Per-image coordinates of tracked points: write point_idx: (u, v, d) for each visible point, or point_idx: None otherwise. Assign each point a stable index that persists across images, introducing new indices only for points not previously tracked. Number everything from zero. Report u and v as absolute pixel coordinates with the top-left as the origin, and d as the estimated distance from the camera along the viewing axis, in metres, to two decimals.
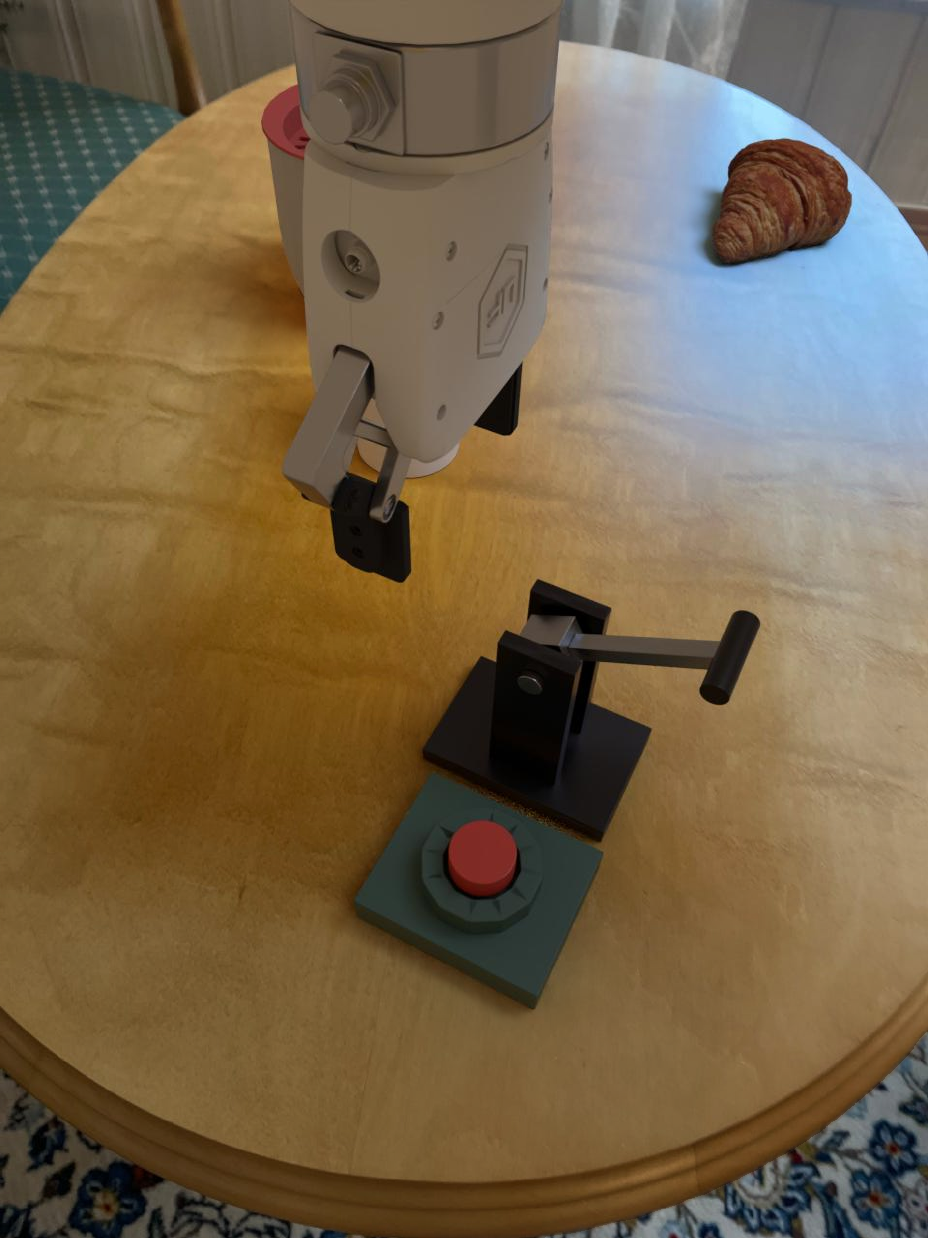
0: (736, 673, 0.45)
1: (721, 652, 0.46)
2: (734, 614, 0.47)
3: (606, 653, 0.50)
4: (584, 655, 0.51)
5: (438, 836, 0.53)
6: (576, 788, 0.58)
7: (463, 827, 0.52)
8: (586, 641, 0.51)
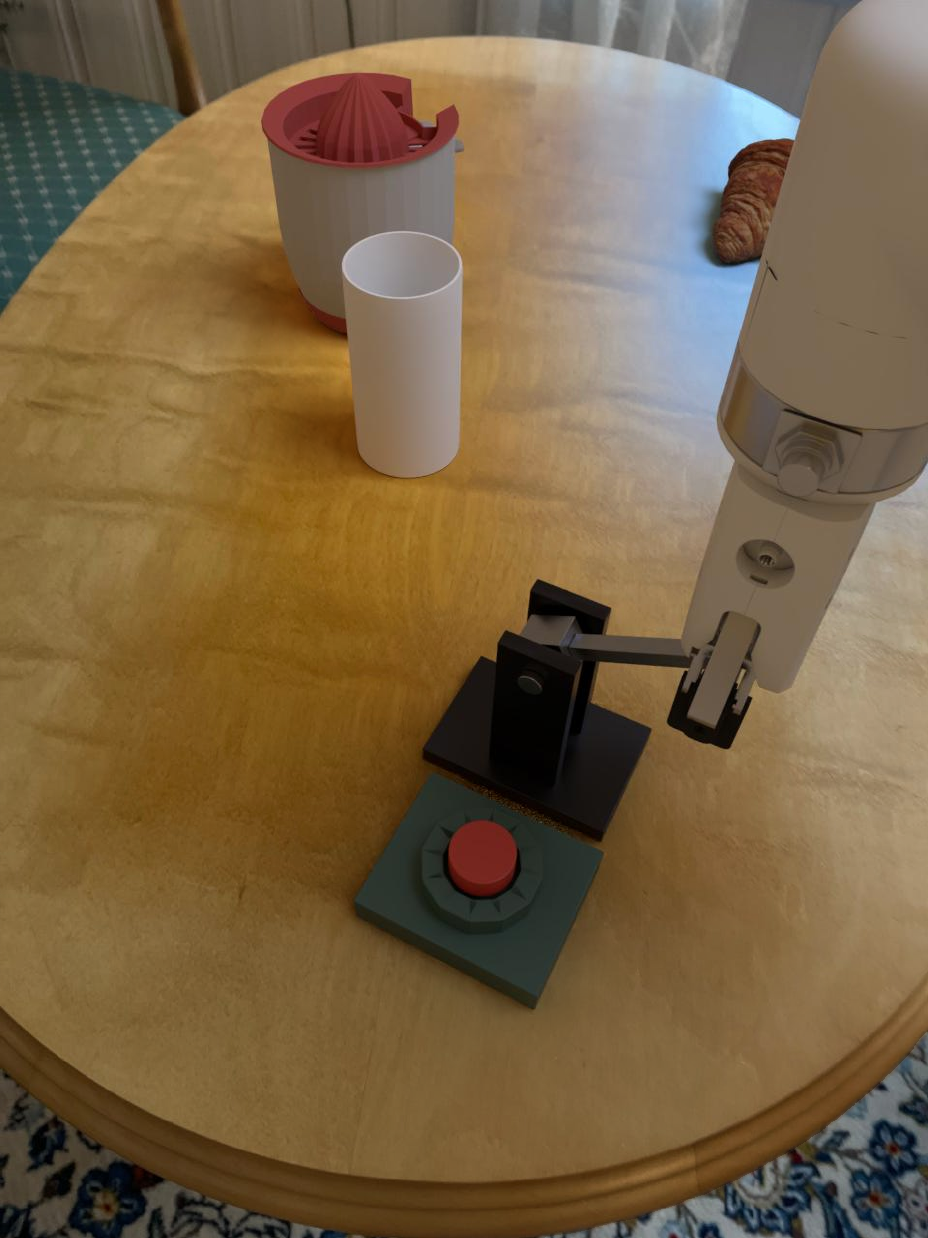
0: None
1: None
2: None
3: (606, 653, 0.50)
4: (584, 655, 0.51)
5: (438, 836, 0.53)
6: (576, 788, 0.58)
7: (463, 827, 0.52)
8: (586, 641, 0.51)
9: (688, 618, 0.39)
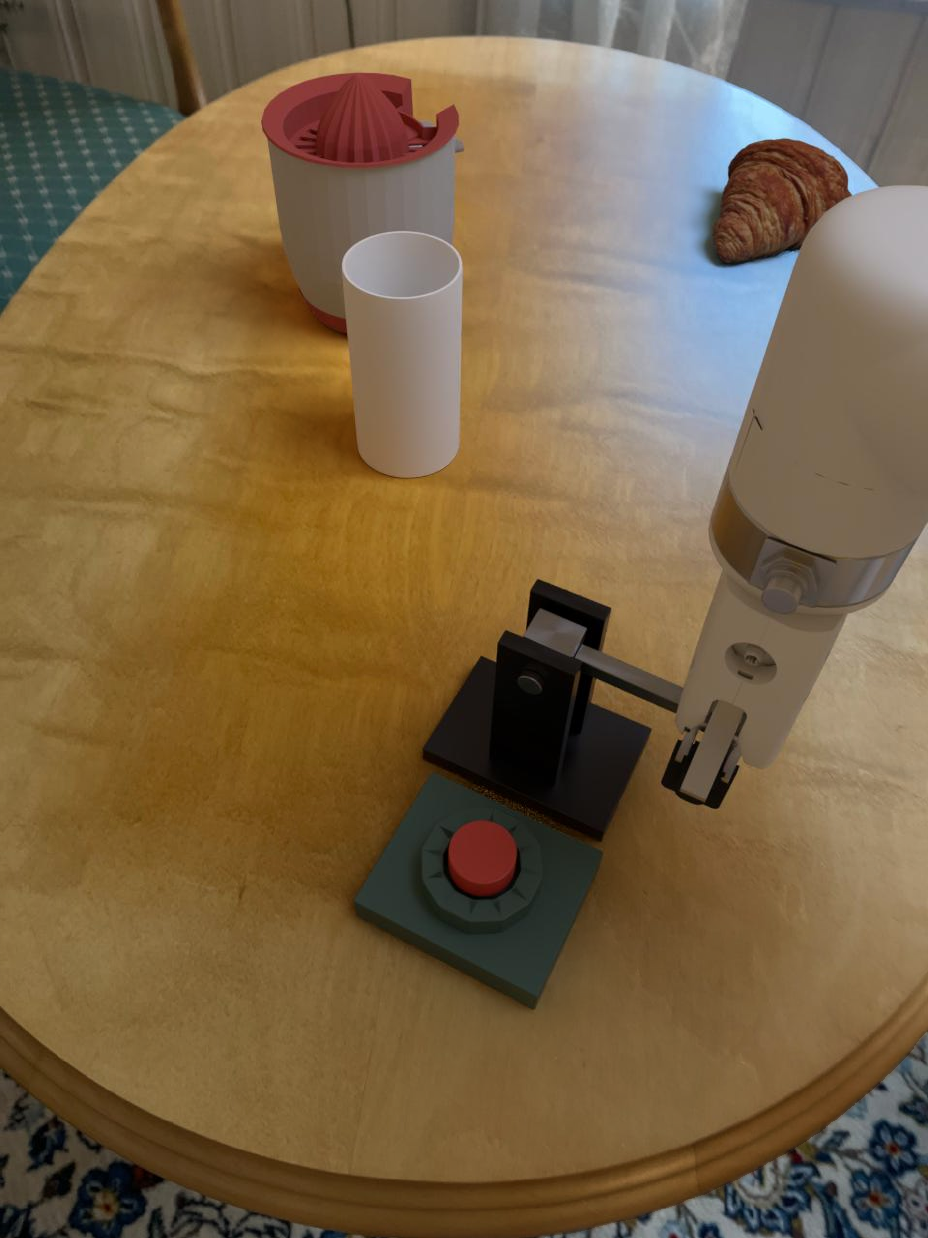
0: None
1: None
2: None
3: (611, 677, 0.51)
4: (586, 669, 0.52)
5: (438, 836, 0.53)
6: (576, 788, 0.58)
7: (463, 827, 0.52)
8: (593, 657, 0.51)
9: (681, 702, 0.43)
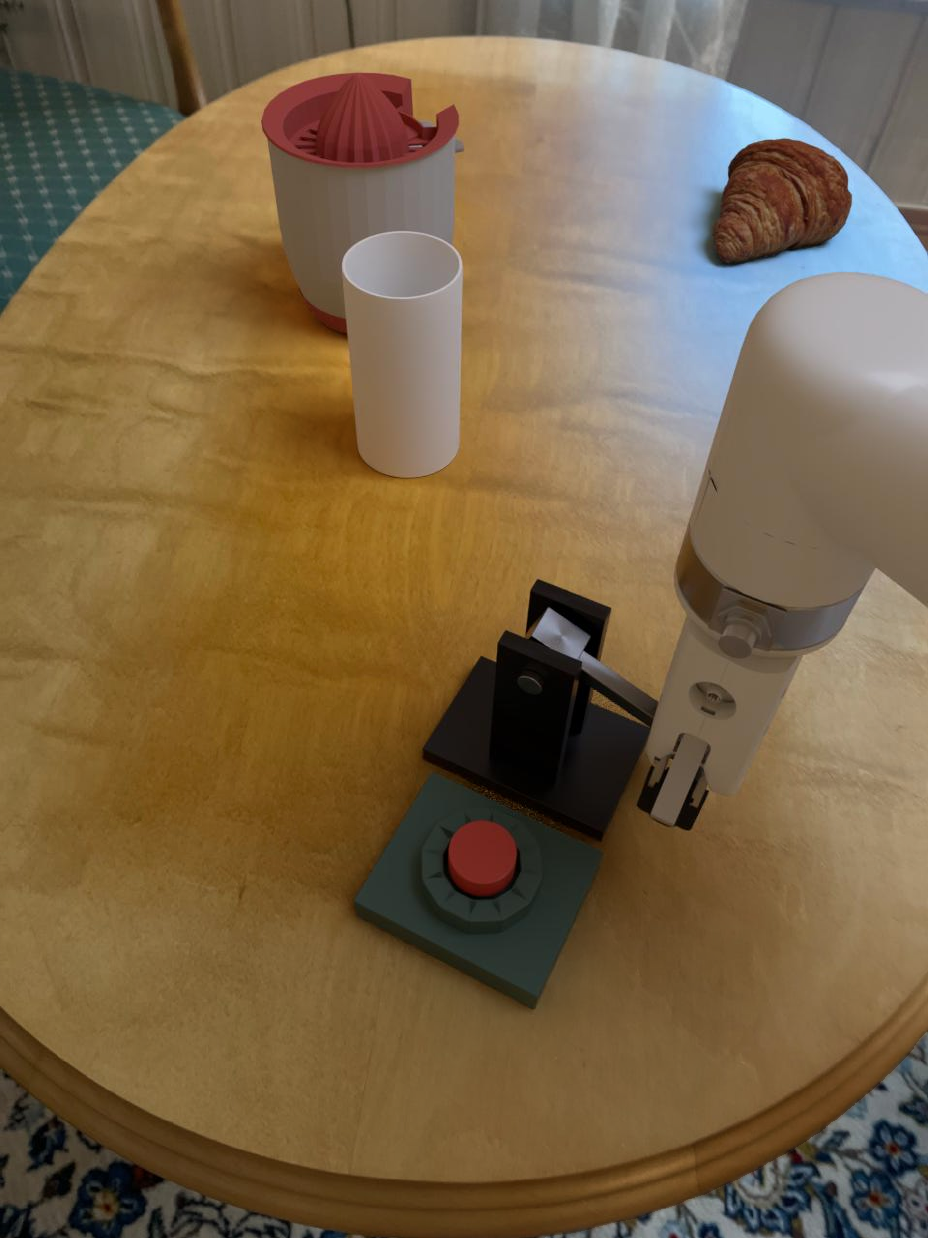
0: None
1: None
2: None
3: (605, 688, 0.52)
4: (581, 675, 0.52)
5: (438, 836, 0.53)
6: (576, 788, 0.58)
7: (463, 827, 0.52)
8: (591, 666, 0.52)
9: (651, 734, 0.46)
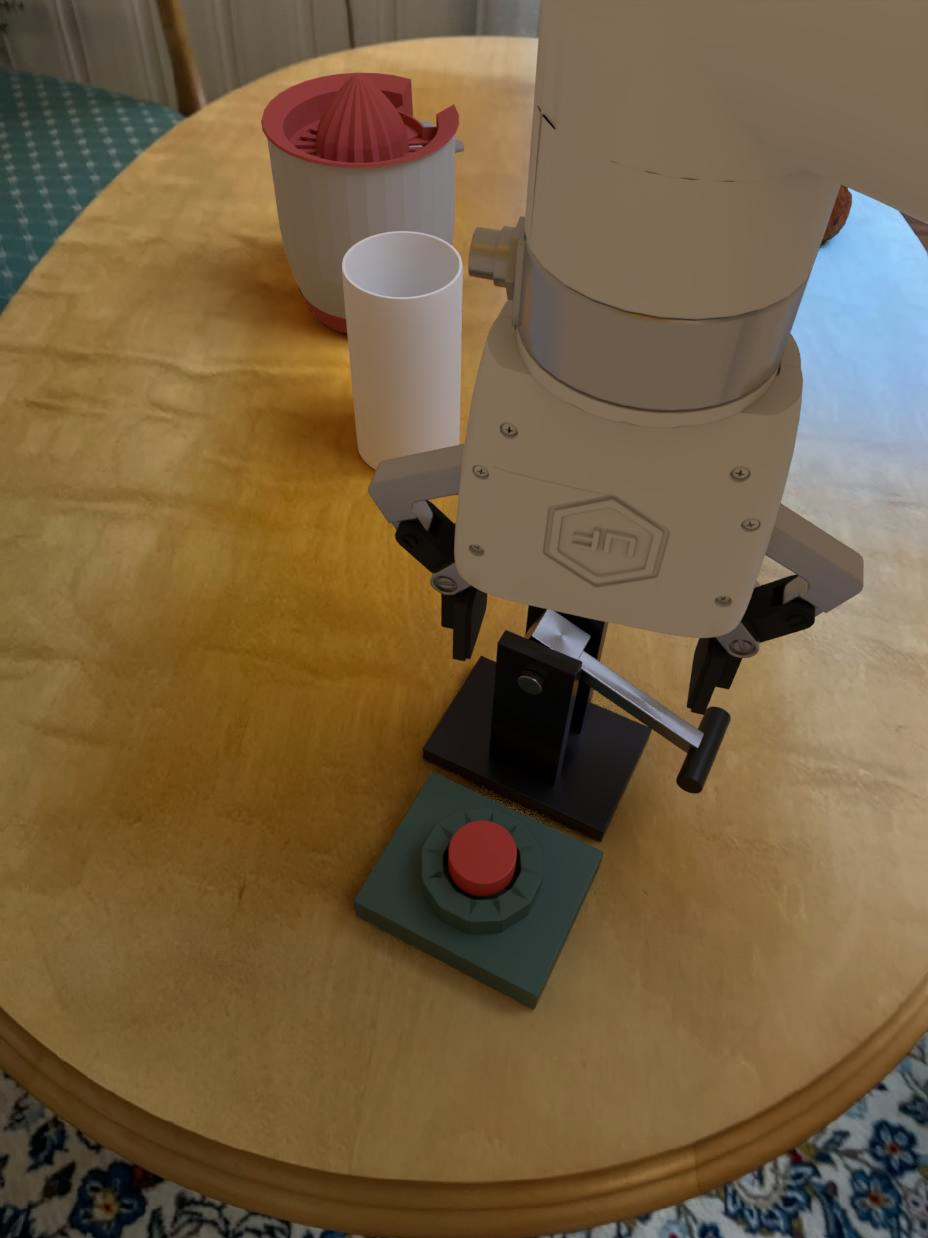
0: None
1: (707, 750, 0.52)
2: (718, 710, 0.53)
3: (605, 688, 0.52)
4: (581, 675, 0.52)
5: (438, 836, 0.53)
6: (576, 788, 0.58)
7: (463, 827, 0.52)
8: (591, 666, 0.52)
9: None
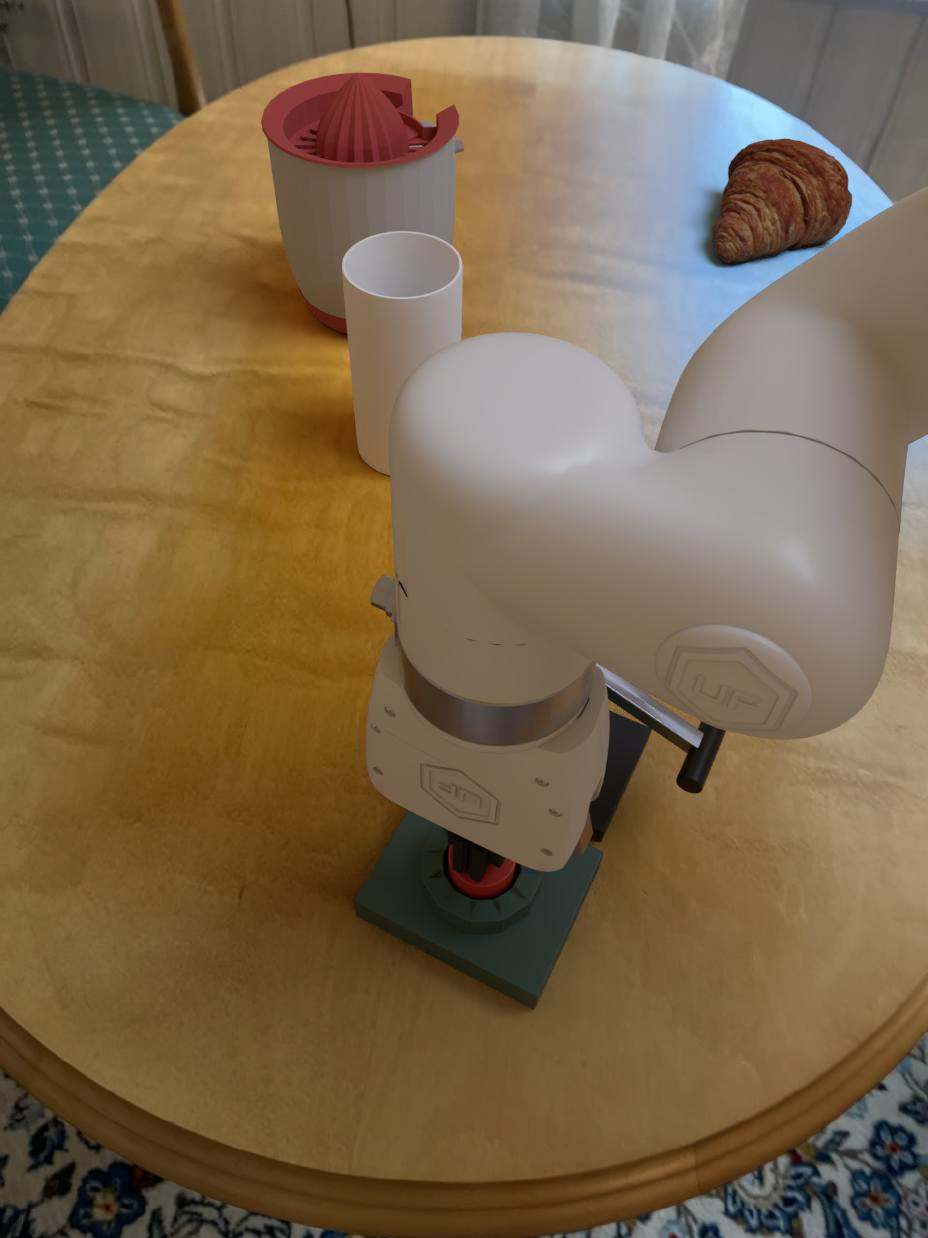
0: None
1: (707, 750, 0.52)
2: None
3: None
4: None
5: (438, 836, 0.53)
6: None
7: None
8: None
9: None
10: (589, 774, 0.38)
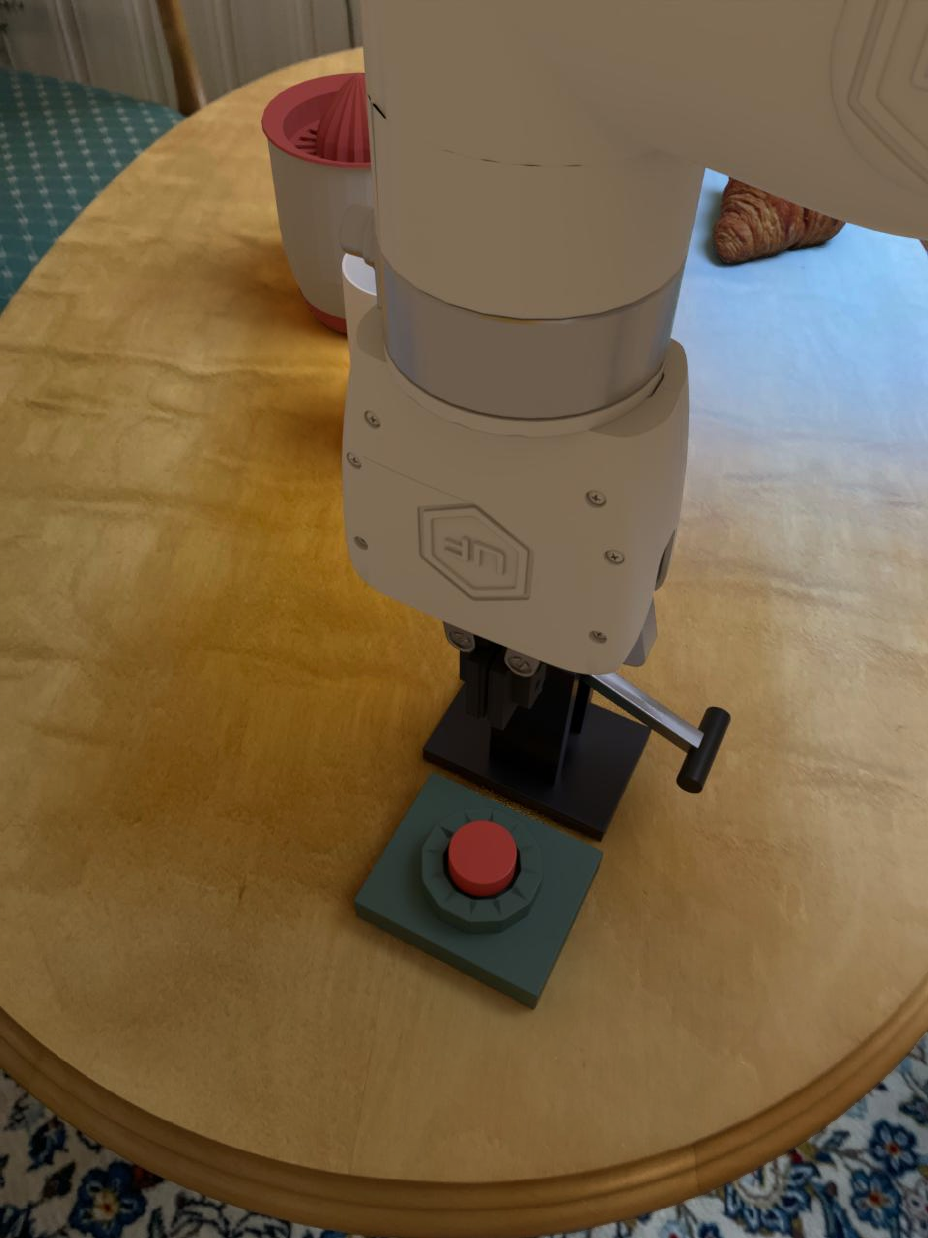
0: None
1: (707, 750, 0.52)
2: (718, 710, 0.53)
3: (605, 688, 0.52)
4: (581, 675, 0.52)
5: (438, 836, 0.53)
6: (576, 788, 0.58)
7: (463, 827, 0.52)
8: None
9: None
10: (664, 493, 0.26)
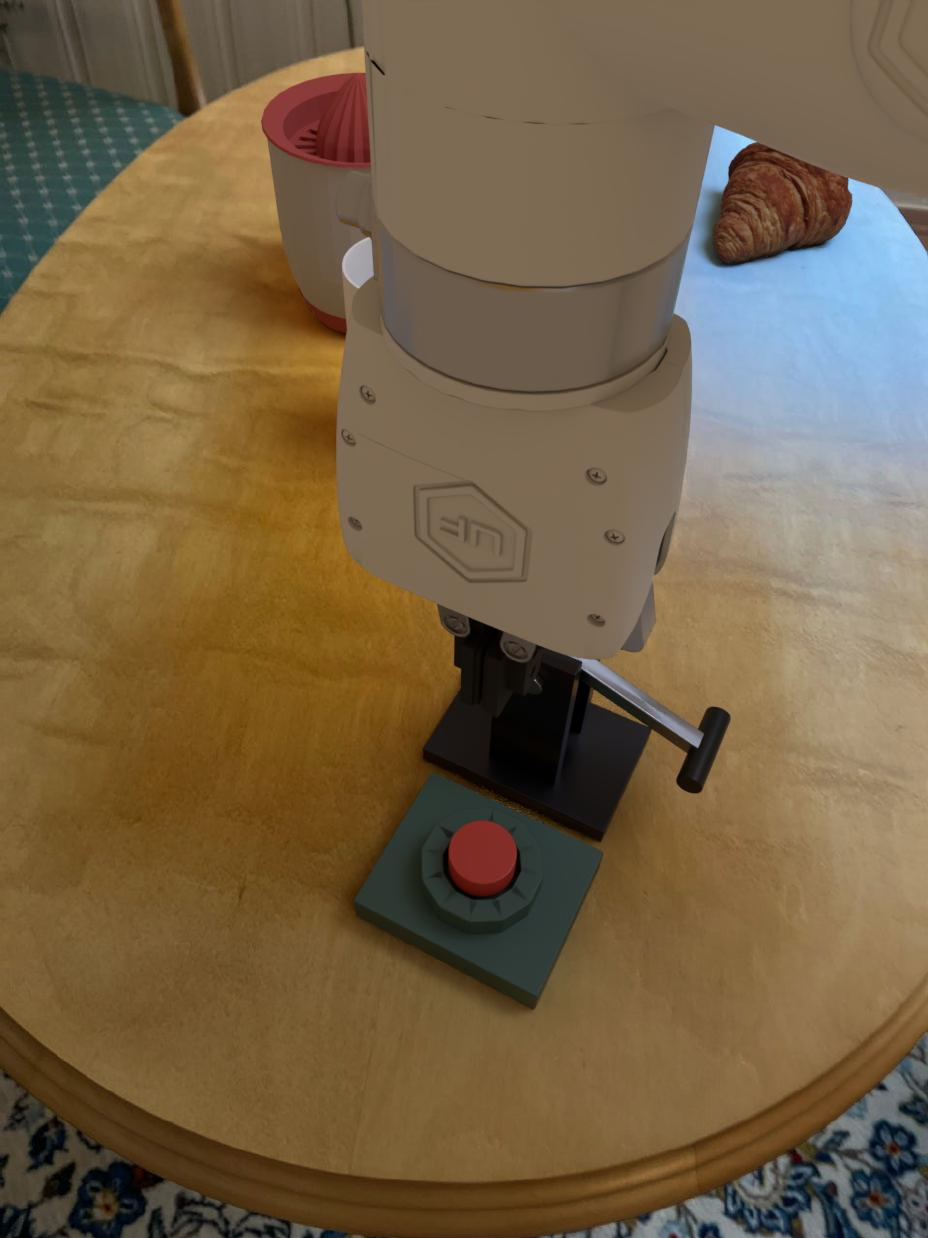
0: None
1: (707, 750, 0.52)
2: (718, 710, 0.53)
3: (605, 688, 0.52)
4: (581, 675, 0.52)
5: (438, 836, 0.53)
6: (576, 788, 0.58)
7: (463, 827, 0.52)
8: (591, 666, 0.52)
9: None
10: (666, 472, 0.25)
